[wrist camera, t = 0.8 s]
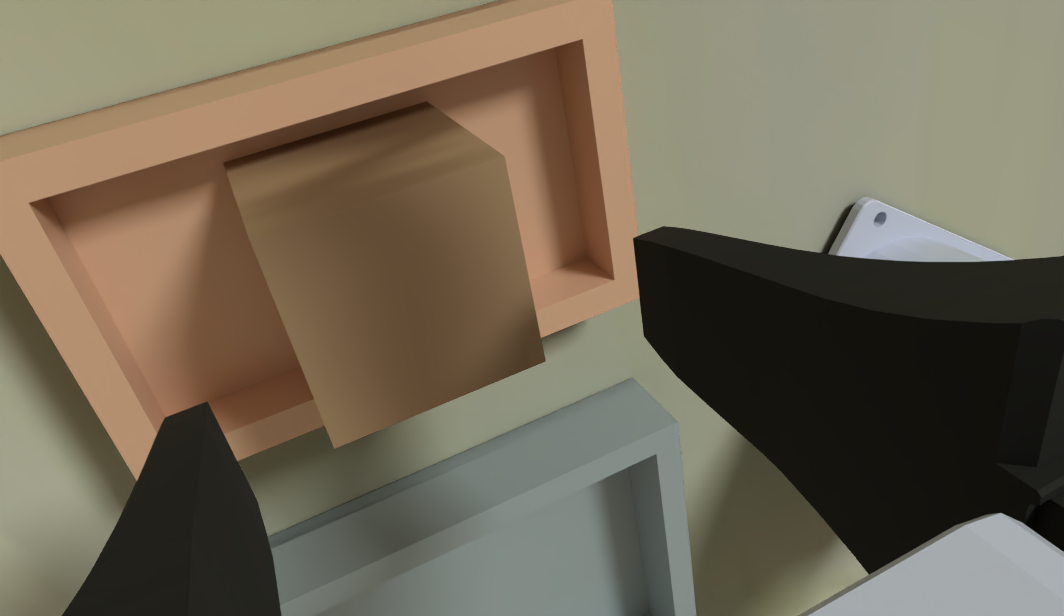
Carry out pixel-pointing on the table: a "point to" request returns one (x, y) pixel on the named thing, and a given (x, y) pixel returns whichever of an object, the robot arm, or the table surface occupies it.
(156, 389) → the terracotta holder
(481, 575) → the slate tray
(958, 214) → the table surface
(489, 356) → the walnut block
